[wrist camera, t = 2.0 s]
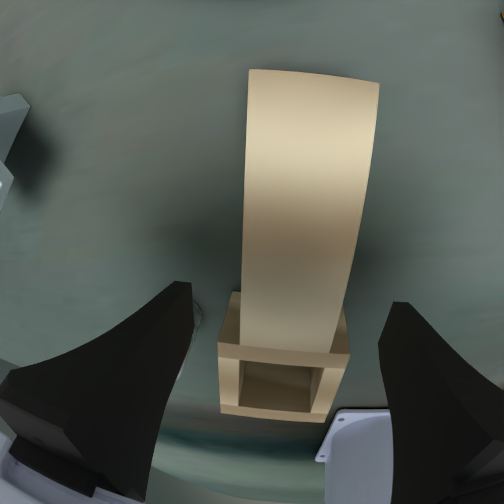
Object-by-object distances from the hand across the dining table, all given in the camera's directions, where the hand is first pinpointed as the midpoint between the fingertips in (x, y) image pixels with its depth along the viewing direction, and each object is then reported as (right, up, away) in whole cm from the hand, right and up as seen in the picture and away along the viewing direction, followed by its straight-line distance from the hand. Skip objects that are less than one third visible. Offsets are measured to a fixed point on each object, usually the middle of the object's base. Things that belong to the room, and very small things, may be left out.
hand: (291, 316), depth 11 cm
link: (+1, +2, +5) cm, 5 cm away
